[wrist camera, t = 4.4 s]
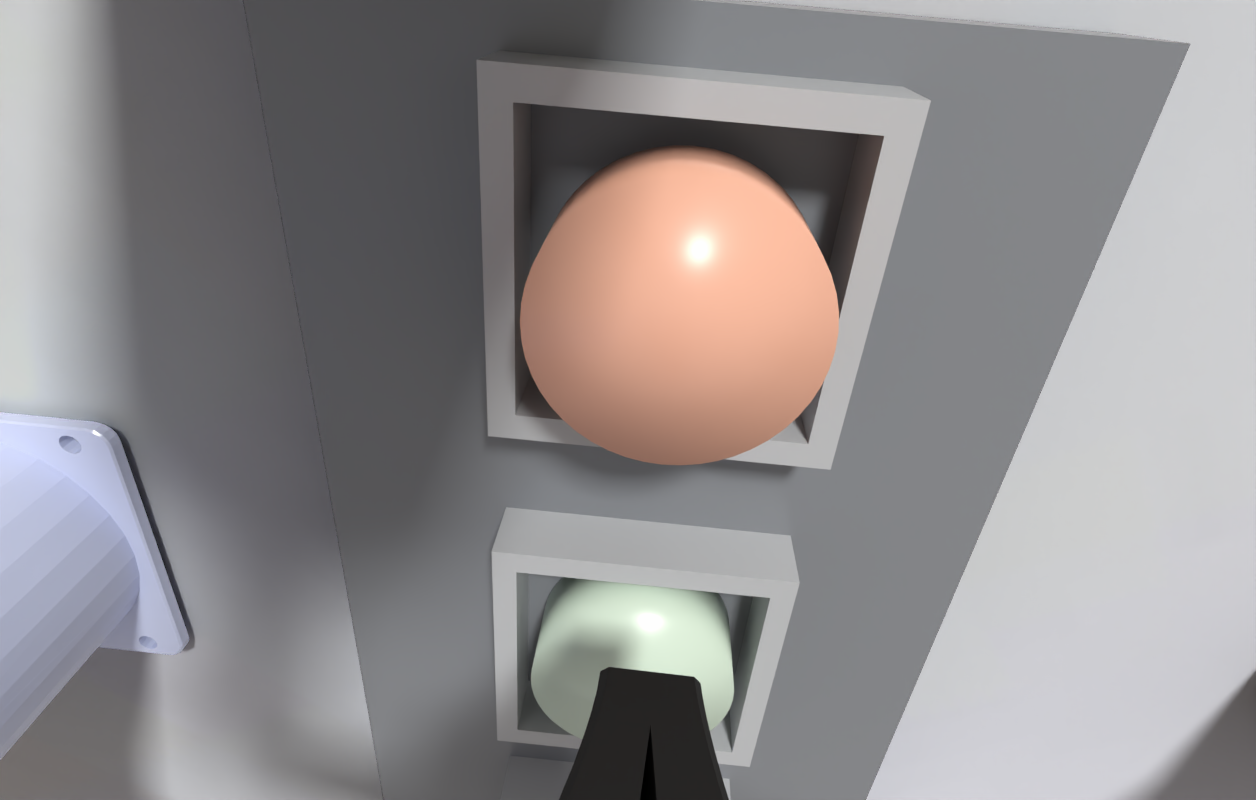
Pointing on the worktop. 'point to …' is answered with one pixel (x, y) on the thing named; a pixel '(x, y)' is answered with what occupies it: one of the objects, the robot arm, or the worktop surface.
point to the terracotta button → (679, 308)
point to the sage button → (628, 644)
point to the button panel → (677, 494)
